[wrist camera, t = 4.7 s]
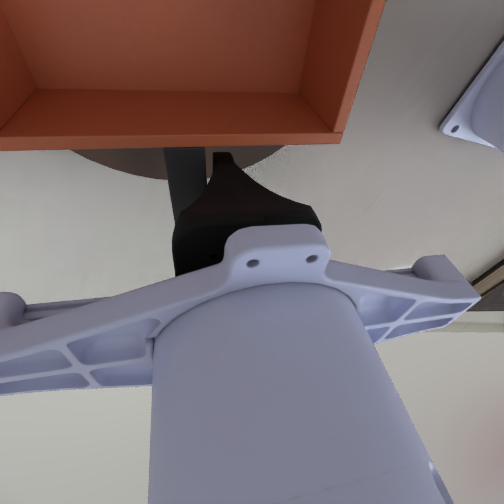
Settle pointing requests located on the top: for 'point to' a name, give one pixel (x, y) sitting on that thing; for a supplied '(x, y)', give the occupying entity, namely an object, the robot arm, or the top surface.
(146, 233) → the top surface
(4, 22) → the bin
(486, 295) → the hardcover book
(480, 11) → the top surface
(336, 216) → the top surface
